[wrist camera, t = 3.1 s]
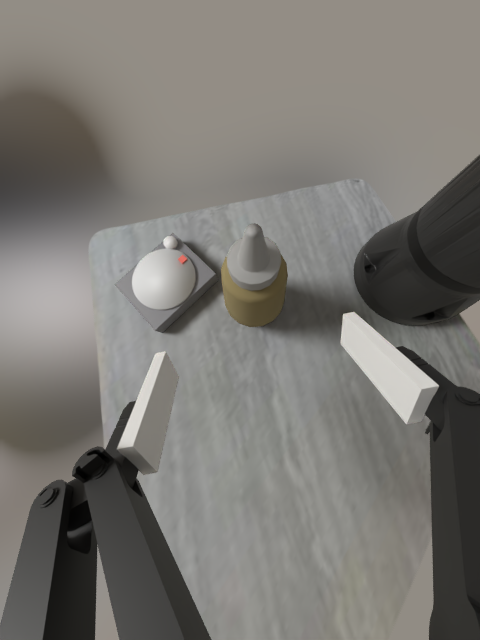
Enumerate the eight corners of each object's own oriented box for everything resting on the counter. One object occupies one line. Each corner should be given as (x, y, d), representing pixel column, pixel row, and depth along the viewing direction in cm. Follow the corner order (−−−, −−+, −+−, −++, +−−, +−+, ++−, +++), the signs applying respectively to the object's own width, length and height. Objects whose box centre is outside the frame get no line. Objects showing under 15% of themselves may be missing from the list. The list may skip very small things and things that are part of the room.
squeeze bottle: (222, 288, 32) (183, 198, 14) (272, 274, 32) (293, 167, 14) (235, 337, 30) (207, 303, 13) (287, 323, 30) (333, 269, 13)
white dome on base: (178, 241, 34) (170, 229, 31) (218, 279, 32) (214, 271, 29) (124, 290, 33) (110, 282, 30) (162, 332, 31) (152, 329, 28)
